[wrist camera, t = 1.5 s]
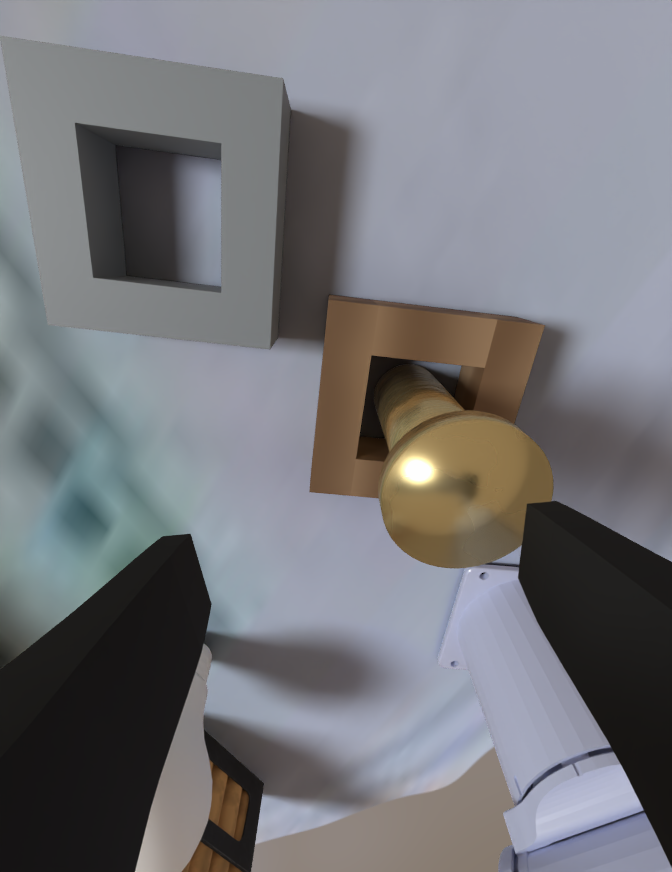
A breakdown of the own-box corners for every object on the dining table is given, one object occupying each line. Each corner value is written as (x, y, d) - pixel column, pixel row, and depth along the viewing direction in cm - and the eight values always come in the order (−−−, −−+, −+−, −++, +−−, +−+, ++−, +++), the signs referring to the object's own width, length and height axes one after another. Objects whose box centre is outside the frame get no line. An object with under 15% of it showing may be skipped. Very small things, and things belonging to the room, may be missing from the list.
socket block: (290, 108, 14) (283, 78, 12) (277, 337, 17) (270, 349, 15) (55, 73, 14) (-1, 35, 11) (86, 316, 17) (47, 325, 14)
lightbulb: (219, 595, 23) (134, 856, 13) (260, 664, 25) (214, 932, 15) (125, 620, 24) (-28, 887, 14) (172, 685, 26) (73, 955, 16)
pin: (464, 354, 18) (578, 431, 10) (442, 444, 19) (523, 573, 11) (365, 342, 17) (397, 412, 9) (352, 435, 19) (369, 561, 11)
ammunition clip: (155, 714, 27) (37, 1022, 16) (177, 705, 27) (71, 1014, 16) (244, 790, 31) (197, 1082, 20) (264, 783, 31) (228, 1076, 20)
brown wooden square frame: (515, 317, 17) (544, 325, 15) (469, 479, 20) (487, 507, 18) (328, 294, 17) (328, 299, 14) (311, 465, 20) (309, 492, 17)
